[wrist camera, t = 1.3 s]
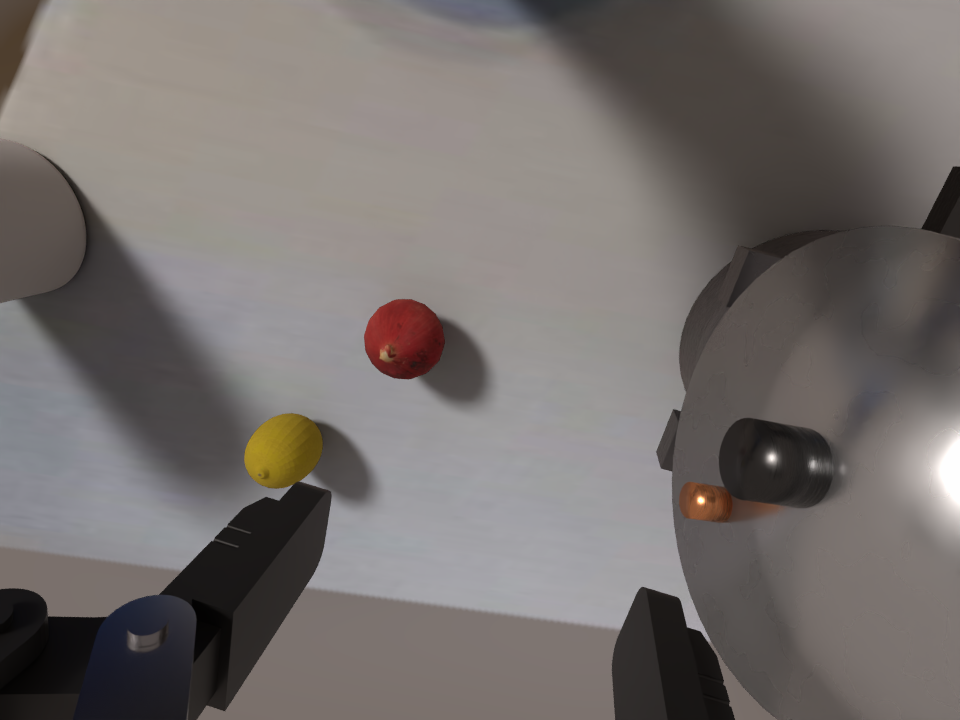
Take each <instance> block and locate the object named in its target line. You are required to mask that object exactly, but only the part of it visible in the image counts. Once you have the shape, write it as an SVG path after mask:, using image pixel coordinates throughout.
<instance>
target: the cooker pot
mask: <svg viewBox="0 0 960 720" xmlns="http://www.w3.org/2000/svg"><path fill="white" fill-rule="evenodd" d="M922 229H924V230H928V231H932V232H935V233H939V234H943V235H947V236H951V237H955V238H959V239H960V167H953V168H952V170H951V172H950V174H949V176H948V178H947V180H946V182H945V184H944V186H943V188H942V190H941V192H940V193H939V195H938V197H937V199H936V201H935V203H934V205H933V207H932V209H931V211H930V213H929V215H928V217H927V219H926V221H925V223H924V225H923V227H922ZM838 232H842V231H827V230H819V231H806V232H800V233H795V234H790V235H785V236H782V237H779V238H776V239H773V240H770V241H767V242H765V243H763V244H761V245H758V246H756V247H754V248H752V249H751V248H747V247H743V246H739V245H738V247H737V250H736V252H735V255H734V257H733V260H732V262H730V263H729V264H728V265H726V266H725V267H724V268H723V269H722V270H721V271H720V272H719V273H718V274H717V275H716V276H715V277H713V278H712V279H711V281H710V282H709V283H708V284H707V286H706V287H705V288H704V289H703V290H702V292H701V293H700V295H699V296H698V298H697V300H696V301H695V303H694V304H693V306H692V308H691V310H690V313H689V315H688V317H687V319H686V322H685V325H684V329H683V332H682V336H681V342H680V351H679V364H680V371H681V377H682V381H683V384H684V388H685V390H686V391H687V389H688V386H689V383H690V380H691V377H692V375H693V372H694V370H695V367H696V365H697V363H698V361H699V358H700V356H701V354H702V352H703V350H704V348H705V346H706V344H707V342H708V341H709V339H710V337H711V335H712V333H713V332H714V330H715V329H716V327H717V325H718V324H719V322H720V321H721V319H722V318H723V316H724V315H725V313H726V312H727V311H728V310H729V308H730V307H731V306H732V305H733V303H734V302H735V301H736V300H737V298H738V297H739V296H740V295H741V294H742V293H743V292H744V291H745V290H746V289H747V288H748V287H749V286H750V285H751V283H752V282H753V281H754V280H755V279H757V278H758V277H759V276H760V275H761V274H763V273H764V272H765V271H766V270H767V269H769V268H770V267H771V266H772V265H773V264H775V263H776V262H778V261H779V260H781V259H782V258H784V257H785V256H787V255H788V254H790V253H791V252H793V251H795V250H797V249H799V248H801V247H803V246H805V245H807V244H809V243H811V242H813V241H815V240H818V239H821V238H824V237H827V236H829V235H832V234H835V233H838ZM680 413H681V411H678V410H674V409H673V411H672V413H671V416H670V419H669V421H668V424H667V426H666V429H665V431H664V434H663V436H662V439H661V441H660V444H659V446H658V449H657V451H656V453H657V456H658V460H659V463H660V467H661V468H662V469H665V470H669V471H673V455H674V448H675V440H676V433H677V428H678V423H679V418H680Z"/></svg>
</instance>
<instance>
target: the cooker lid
mask: <svg viewBox="0 0 960 720" xmlns="http://www.w3.org/2000/svg"><path fill="white" fill-rule="evenodd" d="M672 504H673V517H674V527H675V534H676V540H677V547H678V552H679V556H680V560H681V565H682V569H683V573H684V576H685V579H686V583H687V586H688V589H689V592H690V595H691V598H692V600H693V603H694V605H695V608H696V610H697V613H698V615H699V618H700V620H701V622H702V624H703V626H704V628H705V630H706V632H707V634H708V636H709V638H710V640H711V642H712V643H713V645H714V647H715V648H716V650H717V651H718V653H719V655H720V656H721V658H722V660H723V661H724V663H725V664H726V666H727V667H728V668H729V670H730V671H731V672H732V673H733V675H734V676H735V677H736V679H737V680H738V681H739V682H740V684H741V685H742V686H743V688H745V690H746V691H747V692H748V693H749V694H750V695H751V696H752V697H753V698H754V699H755V700H756V701H757V702H758V703H759V704H760V705H761V706H762V707H763V708H764V709H765V710H766V711H768V712H769V713H770V714H771V715H772V716H774V717H775V718H776V719H777V720H960V239H959V238H955V237H951V236H947V235H943V234H939V233H935V232H932V231H928V230H924V229H916V228H907V227H899V226H878V227H863V228H858V229H853V230H848V231H843V232H838V233H835V234H832V235H829V236H827V237H824V238H821V239H818V240H815V241H813V242H811V243H809V244H807V245H805V246H803V247H801V248H799V249H797V250H795V251H793V252H791V253H790V254H788V255H787V256H785V257H784V258H782V259H781V260H779V261H778V262H776V263H775V264H773V265H772V266H771V267H770V268H769V269H767V270H766V271H765V272H764V273H763V274H761V275H760V276H759V277H758V278H757V279H755V280H754V281H753V282H752V283H751V285H750V286H749V287H748V288H747V289H746V290H745V291H744V292H743V293H742V294H741V295H740V296H739V297H738V298H737V300H736V301H735V302H734V303H733V305H732V306H731V307H730V308H729V310H728V311H727V312H726V313H725V315H724V316H723V318H722V319H721V321H720V322H719V324H718V325H717V327H716V329H715V330H714V332H713V333H712V335H711V337H710V339H709V341H708V342H707V344H706V346H705V348H704V350H703V352H702V354H701V356H700V358H699V361H698V363H697V365H696V367H695V370H694V372H693V375H692V377H691V380H690V383H689V386H688V389H687V391H686V395H685V399H684V402H683V406H682V409H681V413H680V418H679V423H678V428H677V433H676V440H675V448H674V455H673V471H672Z"/></svg>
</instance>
